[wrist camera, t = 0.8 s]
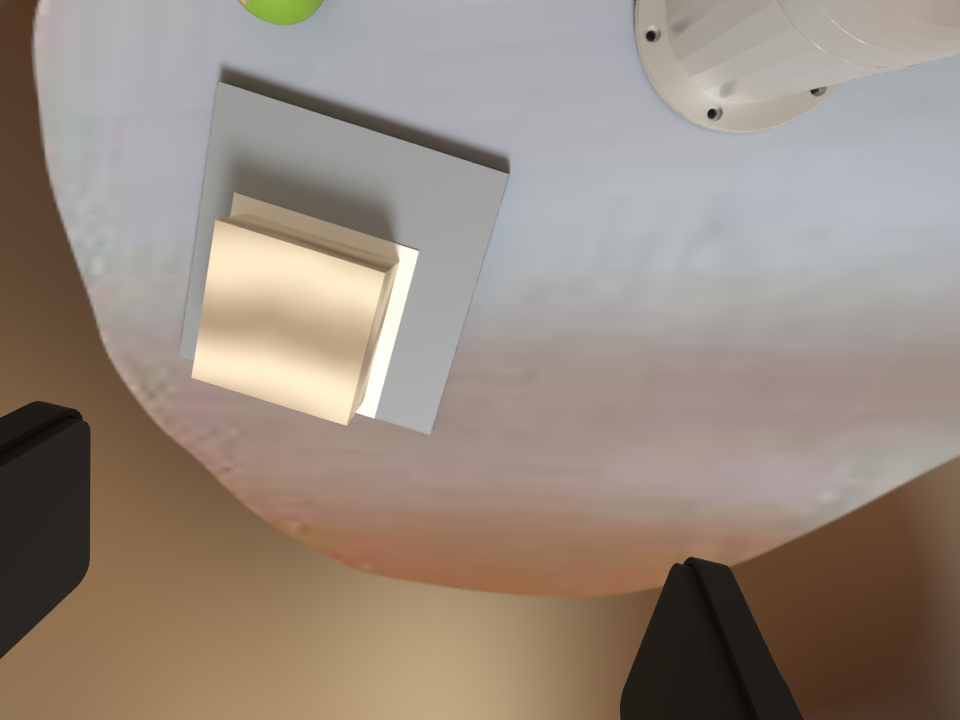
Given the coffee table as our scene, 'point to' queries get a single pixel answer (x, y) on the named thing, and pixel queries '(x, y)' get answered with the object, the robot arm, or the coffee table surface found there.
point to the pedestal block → (291, 316)
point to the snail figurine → (282, 10)
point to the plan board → (358, 228)
